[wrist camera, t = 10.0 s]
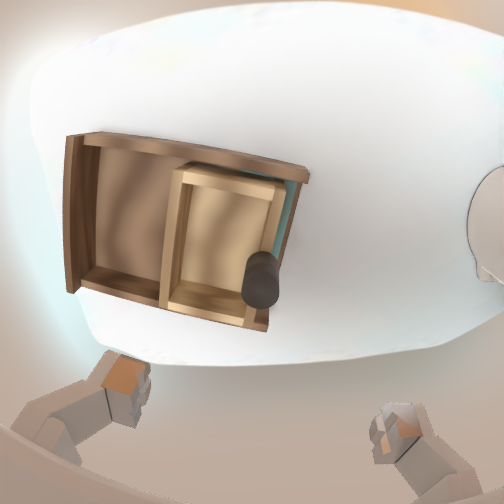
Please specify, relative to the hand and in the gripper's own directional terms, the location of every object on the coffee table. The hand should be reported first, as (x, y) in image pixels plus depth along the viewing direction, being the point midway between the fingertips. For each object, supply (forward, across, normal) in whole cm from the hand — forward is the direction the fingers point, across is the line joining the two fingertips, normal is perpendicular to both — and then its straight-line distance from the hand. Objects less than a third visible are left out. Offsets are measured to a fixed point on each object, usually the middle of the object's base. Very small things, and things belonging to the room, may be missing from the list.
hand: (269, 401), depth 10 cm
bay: (+27, +10, +5) cm, 29 cm away
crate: (+26, +5, +5) cm, 27 cm away
